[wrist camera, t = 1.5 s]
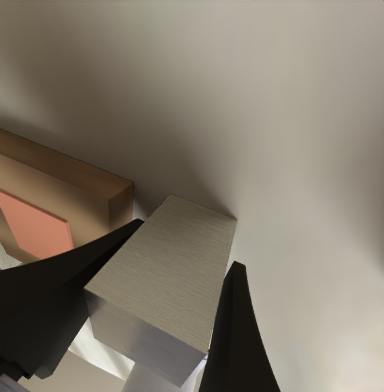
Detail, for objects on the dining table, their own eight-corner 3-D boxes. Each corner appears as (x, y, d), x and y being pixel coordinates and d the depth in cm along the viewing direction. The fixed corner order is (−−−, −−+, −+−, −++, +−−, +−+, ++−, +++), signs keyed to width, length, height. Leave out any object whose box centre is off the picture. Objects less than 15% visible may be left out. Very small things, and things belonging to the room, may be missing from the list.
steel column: (216, 263, 14) (179, 388, 8) (162, 239, 14) (94, 337, 9) (237, 219, 11) (206, 354, 6) (171, 193, 12) (83, 287, 6)
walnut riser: (128, 289, 20) (111, 314, 18) (30, 239, 23) (4, 255, 20) (133, 182, 13) (105, 202, 10) (-17, 122, 15) (-66, 127, 13)
